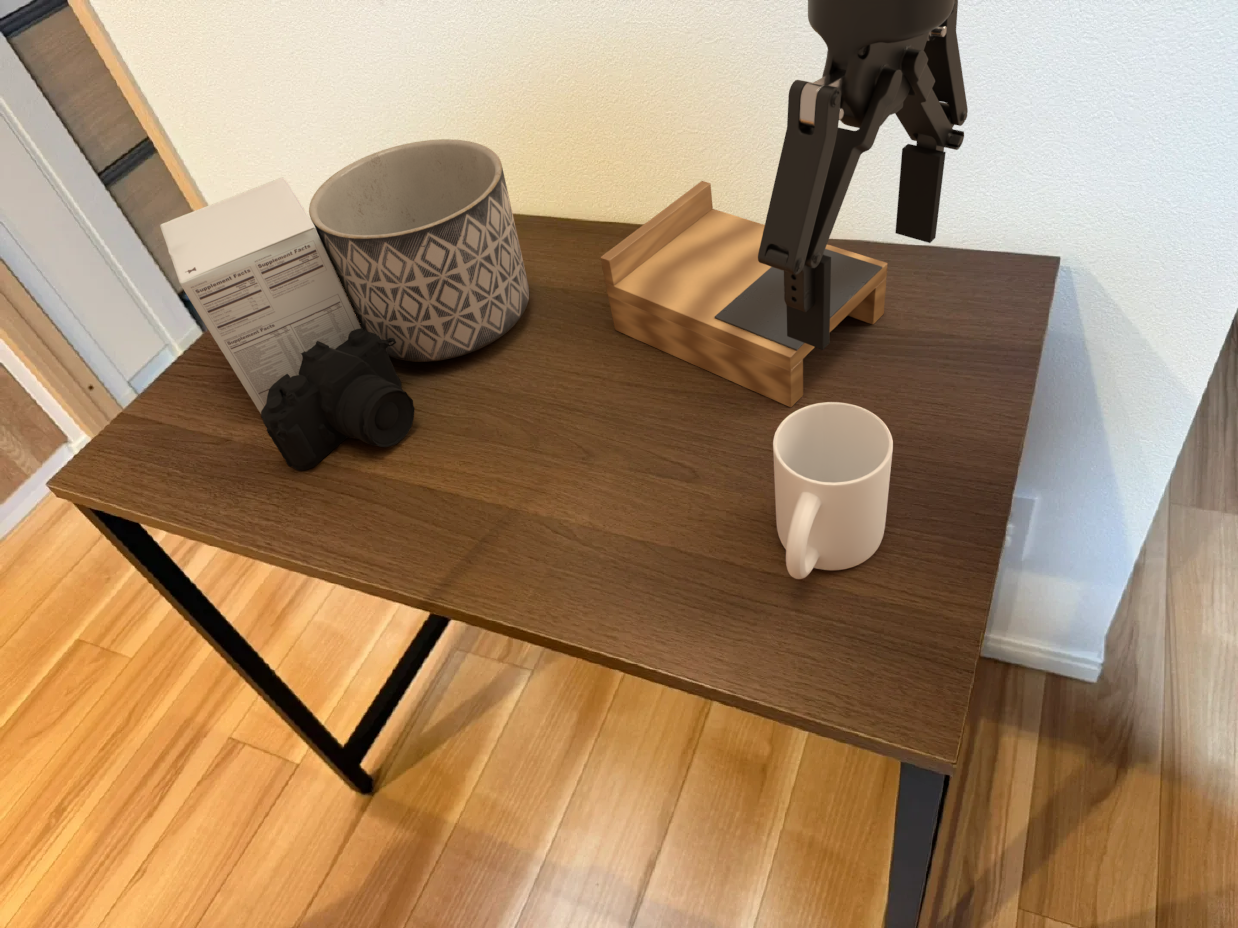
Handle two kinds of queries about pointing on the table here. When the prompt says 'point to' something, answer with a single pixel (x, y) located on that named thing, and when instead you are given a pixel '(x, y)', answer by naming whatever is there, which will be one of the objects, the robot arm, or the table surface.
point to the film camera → (338, 401)
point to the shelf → (725, 295)
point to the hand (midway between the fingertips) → (864, 285)
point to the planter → (425, 247)
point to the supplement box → (260, 282)
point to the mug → (831, 486)
